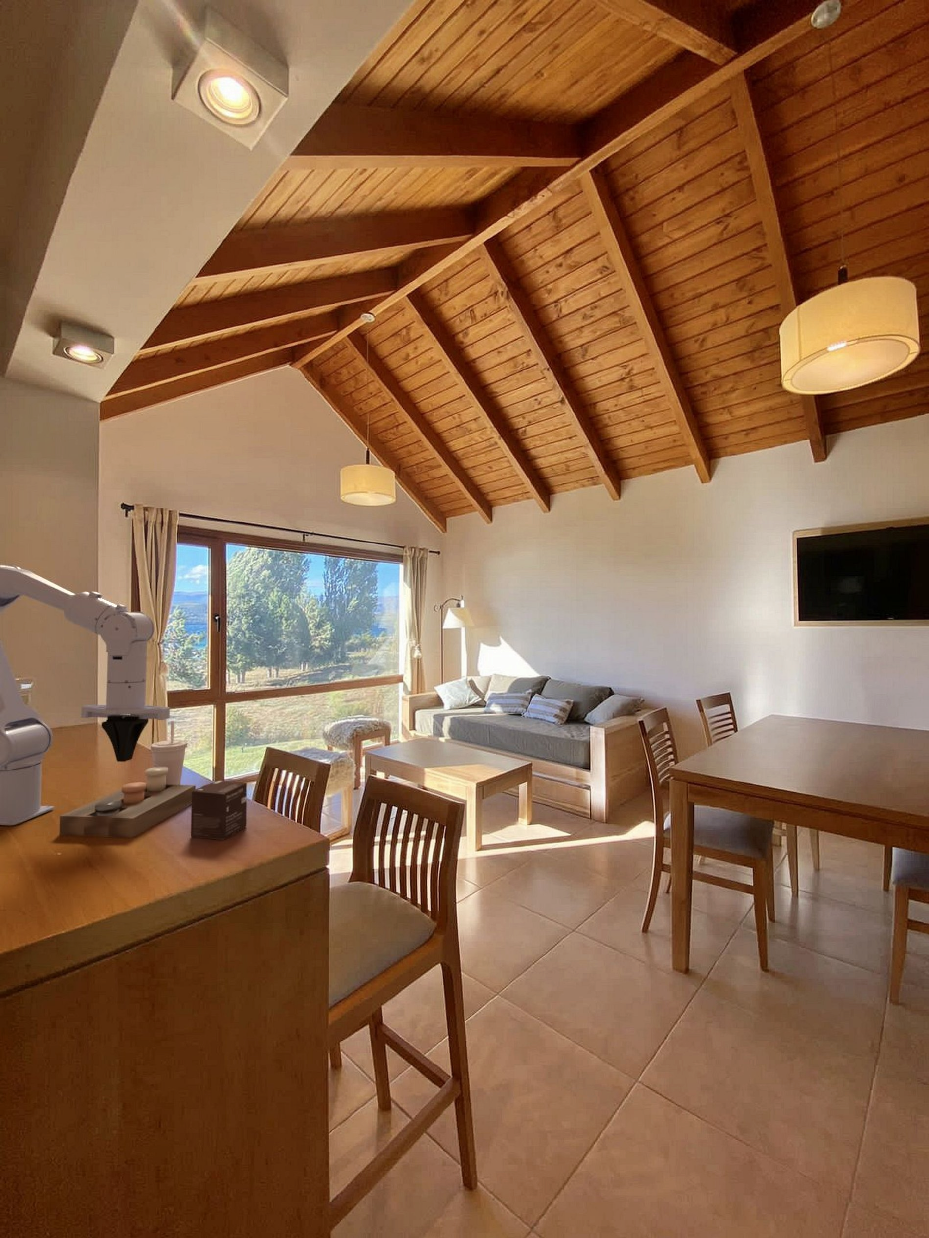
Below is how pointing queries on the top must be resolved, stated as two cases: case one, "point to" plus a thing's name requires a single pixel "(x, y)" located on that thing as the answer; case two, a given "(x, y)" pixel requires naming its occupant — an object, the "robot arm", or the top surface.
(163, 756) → the smoothie
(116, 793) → the socket board
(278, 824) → the top surface
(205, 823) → the box
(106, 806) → the plug metal
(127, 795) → the plug terracotta
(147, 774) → the plug cream
